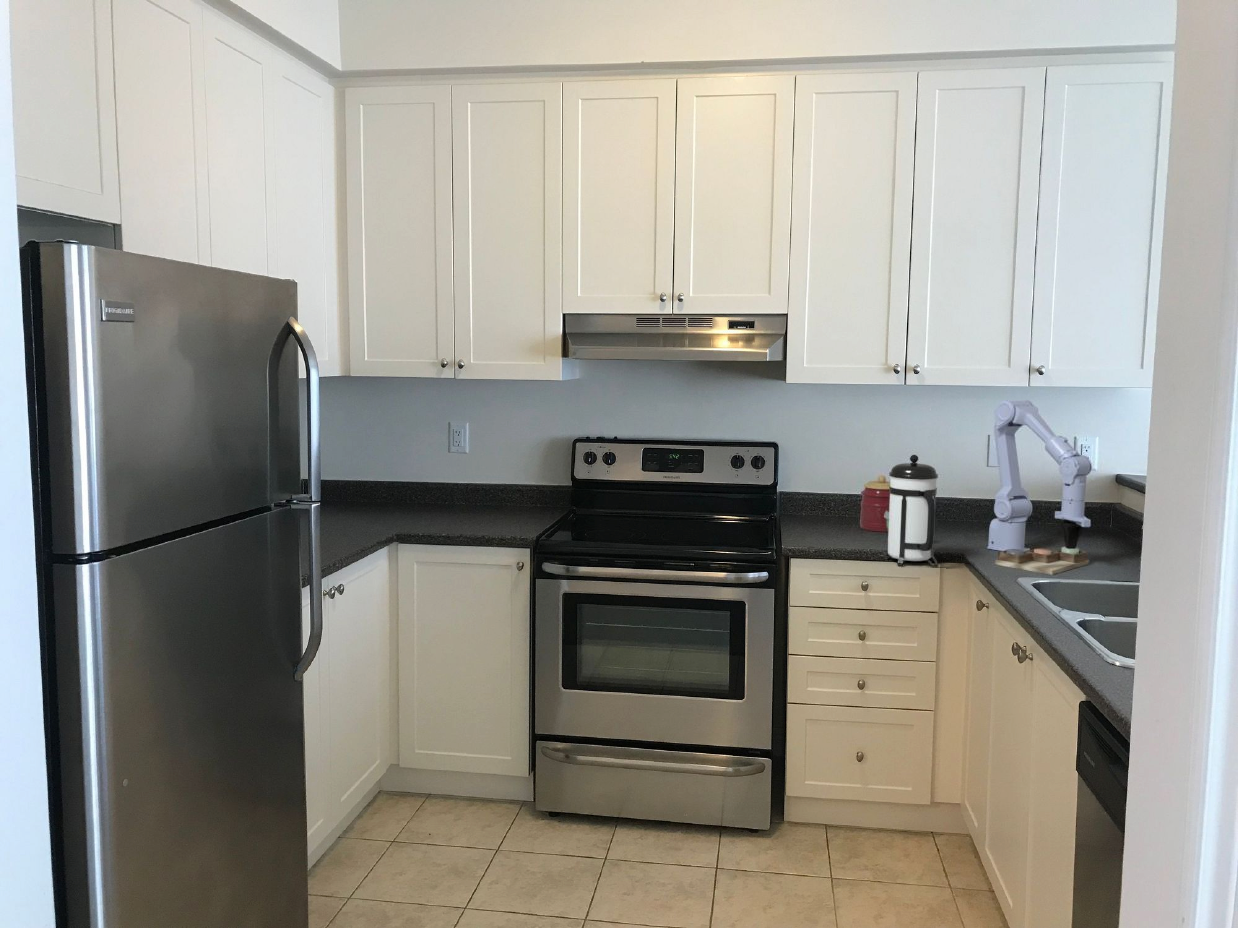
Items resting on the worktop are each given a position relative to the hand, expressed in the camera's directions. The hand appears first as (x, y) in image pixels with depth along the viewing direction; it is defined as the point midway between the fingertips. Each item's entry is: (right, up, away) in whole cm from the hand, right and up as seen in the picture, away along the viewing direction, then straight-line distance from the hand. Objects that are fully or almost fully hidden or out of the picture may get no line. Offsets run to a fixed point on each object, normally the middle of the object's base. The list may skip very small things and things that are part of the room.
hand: (1070, 548), depth 267 cm
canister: (-39, +2, +52) cm, 65 cm away
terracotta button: (-8, -3, 0) cm, 8 cm away
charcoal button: (-16, -3, -1) cm, 16 cm away
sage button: (0, -3, 0) cm, 3 cm away
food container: (-39, -1, +25) cm, 46 cm away
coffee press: (-43, -4, 0) cm, 44 cm away
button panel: (-8, -4, 0) cm, 9 cm away
